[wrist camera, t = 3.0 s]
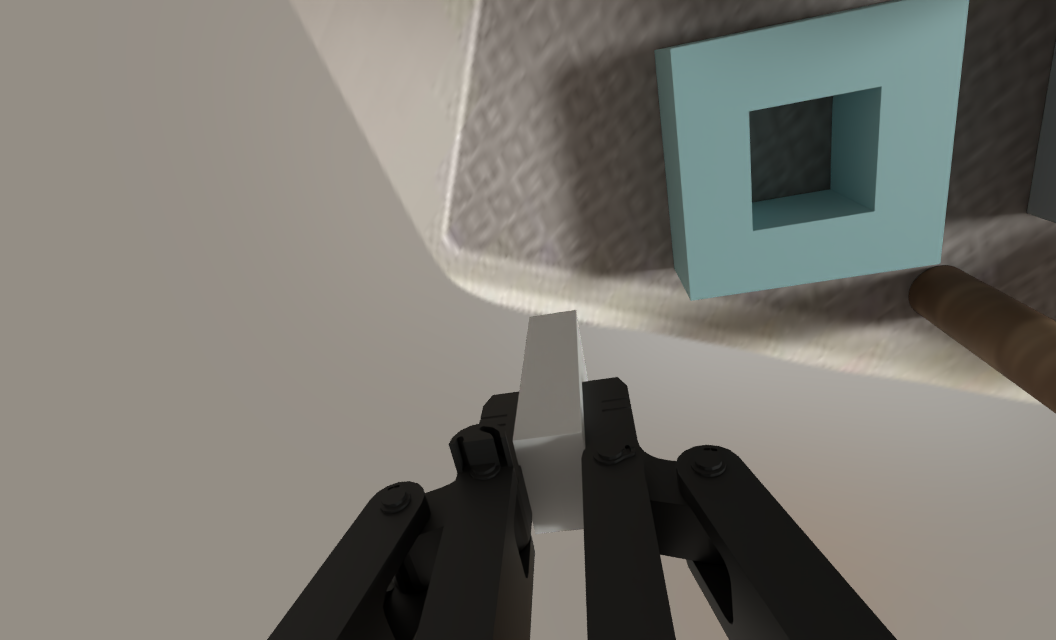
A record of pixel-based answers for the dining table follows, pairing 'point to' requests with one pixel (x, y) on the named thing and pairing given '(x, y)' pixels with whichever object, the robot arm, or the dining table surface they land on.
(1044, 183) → the wall
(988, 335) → the dowel
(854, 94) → the block
